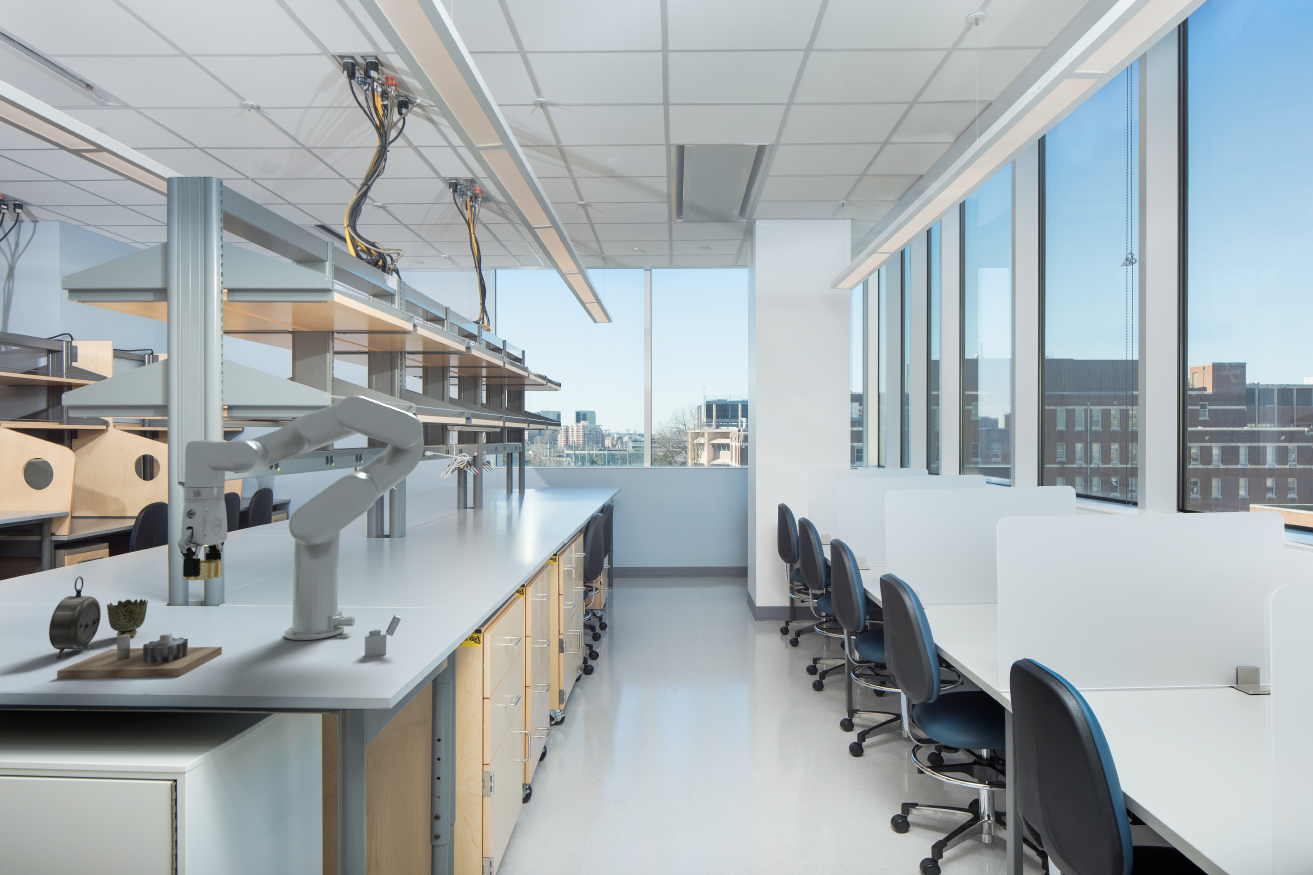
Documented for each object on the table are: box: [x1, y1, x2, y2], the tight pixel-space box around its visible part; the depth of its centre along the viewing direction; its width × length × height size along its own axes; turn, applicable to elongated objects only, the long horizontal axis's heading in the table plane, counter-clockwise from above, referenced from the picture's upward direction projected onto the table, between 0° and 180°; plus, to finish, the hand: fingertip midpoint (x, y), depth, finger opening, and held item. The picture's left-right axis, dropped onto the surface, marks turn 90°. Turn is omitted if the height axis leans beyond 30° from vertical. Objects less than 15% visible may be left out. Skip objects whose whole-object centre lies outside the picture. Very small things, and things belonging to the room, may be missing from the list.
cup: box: [106, 598, 149, 638], centre depth 153 cm, size 8×7×8 cm
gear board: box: [56, 633, 223, 680], centre depth 132 cm, size 22×14×6 cm, turn 95°
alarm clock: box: [48, 575, 101, 660], centre depth 141 cm, size 11×5×16 cm, turn 16°
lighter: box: [364, 614, 402, 658], centre depth 141 cm, size 7×2×8 cm, turn 118°
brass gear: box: [182, 559, 223, 581], centre depth 149 cm, size 7×7×4 cm
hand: (202, 572), depth 149 cm, fingers closed on brass gear, 7 cm apart
